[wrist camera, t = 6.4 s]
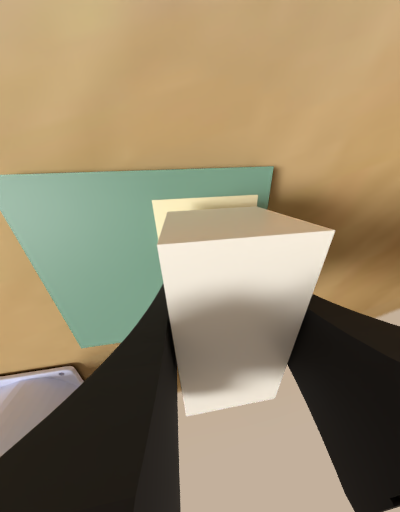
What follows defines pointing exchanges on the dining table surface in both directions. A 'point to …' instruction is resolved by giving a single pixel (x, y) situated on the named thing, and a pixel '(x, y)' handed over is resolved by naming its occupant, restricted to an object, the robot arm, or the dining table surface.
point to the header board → (112, 235)
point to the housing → (236, 299)
